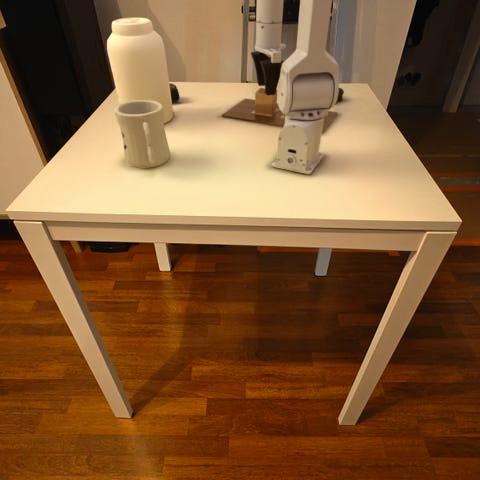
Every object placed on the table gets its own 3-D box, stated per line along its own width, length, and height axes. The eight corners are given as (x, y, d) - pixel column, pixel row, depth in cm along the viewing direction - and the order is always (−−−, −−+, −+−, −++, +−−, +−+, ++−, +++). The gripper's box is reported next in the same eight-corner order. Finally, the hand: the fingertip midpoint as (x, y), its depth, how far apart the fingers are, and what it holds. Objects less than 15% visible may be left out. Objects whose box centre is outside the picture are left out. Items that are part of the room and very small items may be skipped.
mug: (123, 153, 76) (110, 102, 69) (165, 147, 78) (157, 96, 71) (132, 180, 68) (119, 125, 60) (179, 172, 70) (172, 118, 63)
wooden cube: (272, 114, 90) (273, 94, 87) (254, 112, 91) (255, 92, 88) (276, 108, 93) (277, 88, 90) (259, 107, 94) (260, 87, 91)
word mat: (321, 133, 83) (321, 131, 82) (221, 116, 91) (221, 114, 90) (337, 114, 91) (337, 111, 91) (245, 100, 100) (245, 98, 99)
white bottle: (136, 132, 84) (114, 27, 70) (115, 117, 91) (91, 18, 77) (183, 120, 89) (171, 20, 75) (159, 106, 96) (145, 13, 82)
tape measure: (155, 106, 97) (152, 90, 94) (153, 98, 102) (151, 83, 99) (180, 104, 98) (178, 88, 95) (177, 96, 103) (176, 81, 100)
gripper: (297, 26, 74) (290, 97, 84) (277, 15, 84) (273, 80, 94) (264, 27, 73) (261, 100, 83) (248, 16, 83) (247, 82, 93)
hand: (266, 89), depth 89 cm, fingers open, 7 cm apart
